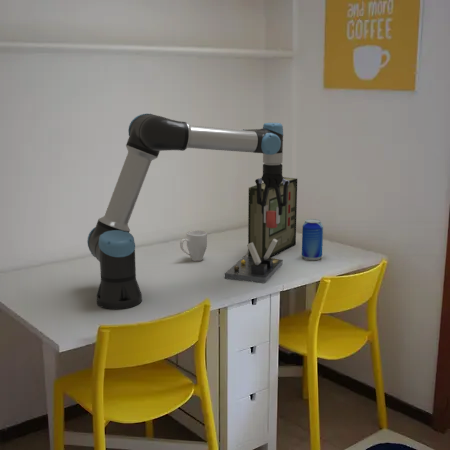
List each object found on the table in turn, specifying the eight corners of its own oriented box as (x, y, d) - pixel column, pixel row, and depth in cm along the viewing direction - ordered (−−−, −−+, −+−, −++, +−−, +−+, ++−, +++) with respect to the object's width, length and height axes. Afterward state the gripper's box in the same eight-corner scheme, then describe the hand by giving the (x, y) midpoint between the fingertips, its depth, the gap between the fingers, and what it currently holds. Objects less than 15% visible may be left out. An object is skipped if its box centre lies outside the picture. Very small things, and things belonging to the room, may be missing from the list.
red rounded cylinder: (275, 228, 245) (275, 213, 243) (264, 227, 246) (264, 212, 245) (278, 225, 249) (278, 211, 247) (267, 224, 250) (268, 210, 249)
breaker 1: (259, 264, 234) (250, 243, 233) (255, 266, 235) (246, 245, 234) (261, 262, 237) (252, 242, 236) (258, 263, 237) (249, 243, 237)
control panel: (264, 261, 257) (265, 189, 250) (248, 258, 261) (248, 187, 254) (295, 244, 282) (297, 178, 275) (280, 242, 286) (281, 177, 278)
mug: (199, 255, 265) (199, 229, 262) (211, 260, 259) (210, 233, 256) (175, 260, 258) (175, 233, 256) (186, 265, 252) (186, 238, 249)
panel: (265, 283, 231) (265, 270, 230) (224, 278, 236) (224, 265, 235) (282, 264, 253) (282, 252, 252) (244, 260, 258) (245, 248, 257)
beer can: (300, 260, 259) (301, 222, 255) (302, 254, 266) (304, 217, 263) (321, 261, 257) (322, 223, 253) (322, 255, 265) (324, 218, 261)
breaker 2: (266, 260, 241) (276, 242, 238) (262, 258, 242) (272, 240, 239) (268, 258, 244) (278, 240, 241) (264, 256, 244) (274, 238, 241)
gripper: (297, 163, 242) (295, 222, 248) (254, 161, 248) (253, 218, 253) (292, 166, 235) (290, 226, 241) (248, 163, 241) (247, 222, 247)
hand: (271, 222), depth 247 cm, fingers closed on red rounded cylinder, 4 cm apart
